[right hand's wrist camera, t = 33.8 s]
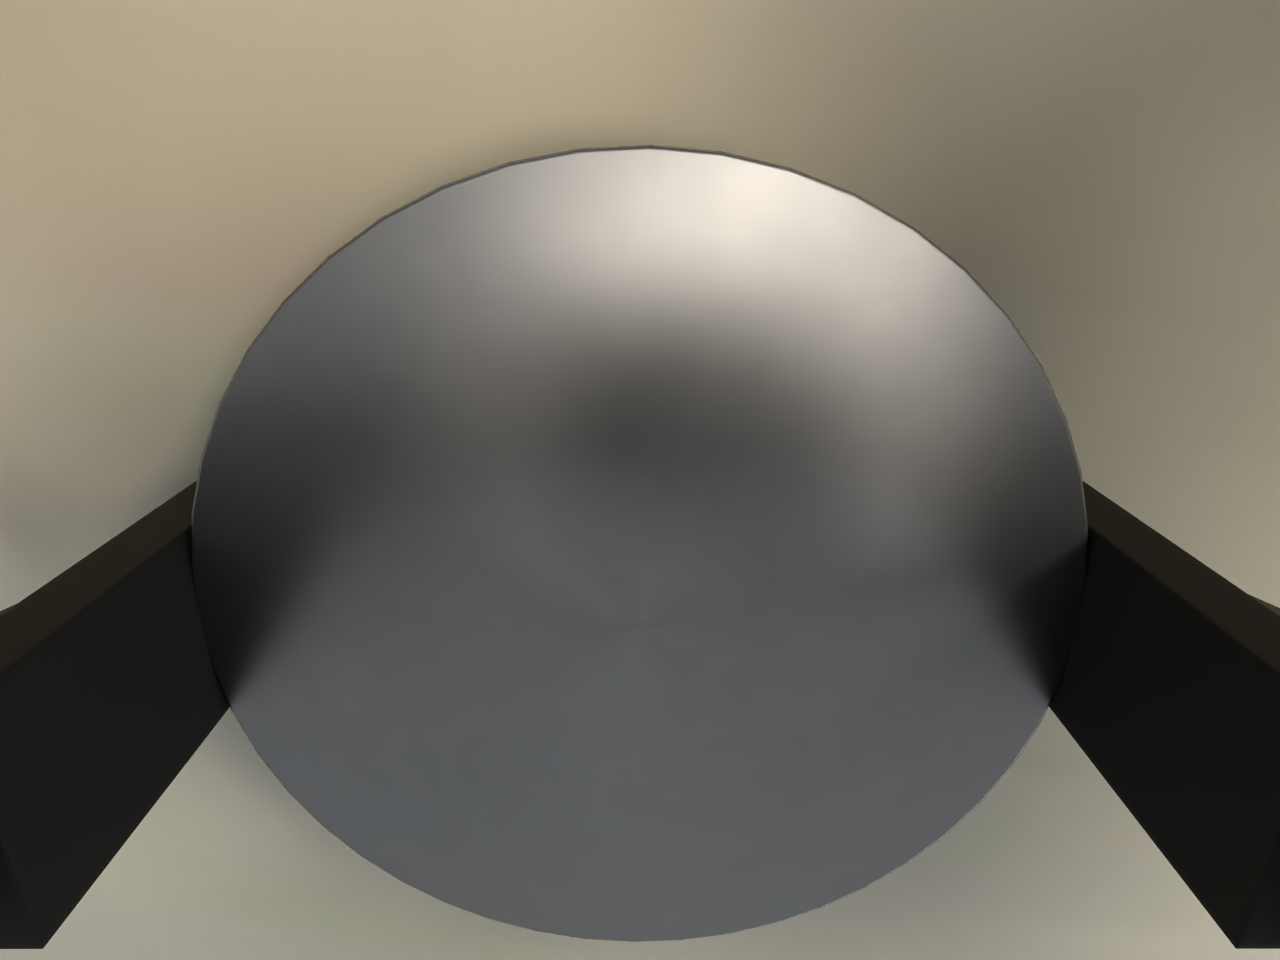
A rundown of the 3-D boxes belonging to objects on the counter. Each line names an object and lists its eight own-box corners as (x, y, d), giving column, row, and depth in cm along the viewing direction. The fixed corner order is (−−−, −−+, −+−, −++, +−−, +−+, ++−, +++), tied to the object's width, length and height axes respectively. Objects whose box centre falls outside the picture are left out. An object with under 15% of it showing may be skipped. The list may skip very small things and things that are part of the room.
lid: (106, 548, 12) (11, 614, 10) (653, -72, 9) (656, -133, 7) (631, 940, 15) (630, 1045, 13) (1166, 565, 12) (1259, 633, 10)
